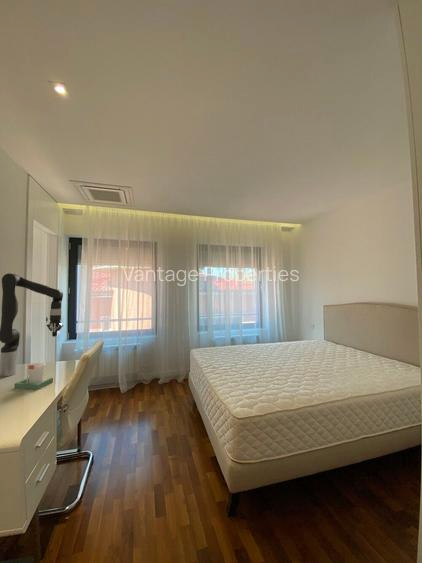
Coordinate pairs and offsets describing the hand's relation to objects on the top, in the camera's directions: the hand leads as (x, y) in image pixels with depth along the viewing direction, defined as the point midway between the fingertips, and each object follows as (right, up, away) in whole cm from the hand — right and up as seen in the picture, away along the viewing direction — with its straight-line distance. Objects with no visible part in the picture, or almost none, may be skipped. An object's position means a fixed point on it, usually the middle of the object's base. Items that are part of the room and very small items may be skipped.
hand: (54, 336), depth 181 cm
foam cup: (+6, -26, -28) cm, 38 cm away
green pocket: (+6, -26, -28) cm, 39 cm away
